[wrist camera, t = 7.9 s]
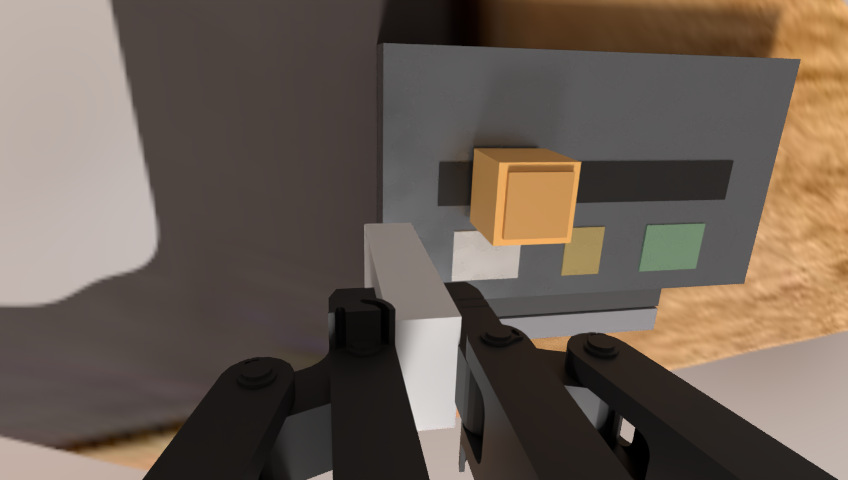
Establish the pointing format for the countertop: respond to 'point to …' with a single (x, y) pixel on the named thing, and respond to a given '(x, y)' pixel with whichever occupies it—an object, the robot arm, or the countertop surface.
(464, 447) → the robot arm
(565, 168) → the orange block
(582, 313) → the light grey bar
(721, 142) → the panel
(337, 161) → the countertop surface
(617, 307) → the dark grey bar
